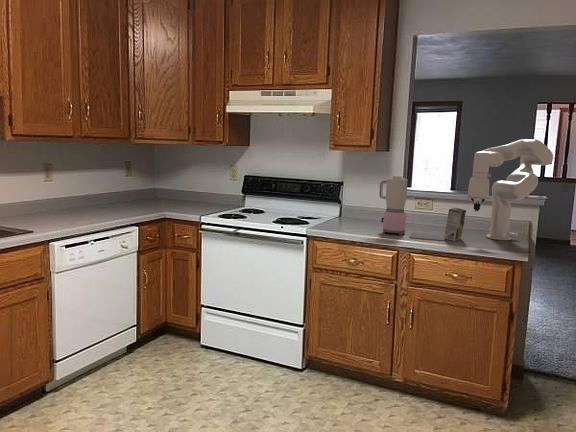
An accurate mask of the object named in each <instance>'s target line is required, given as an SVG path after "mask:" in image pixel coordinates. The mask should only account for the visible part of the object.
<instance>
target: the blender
mask: <svg viewBox="0 0 576 432" xmlns="http://www.w3.org/2000/svg"><path fill="white" fill-rule="evenodd" d="M408 181H409V179H407V178H404V177H403V176H402V175H392V177H388V178H386V180H382V181H381V182H380V183H379V198H380V199H383V200H385V202H386V210H385V211H384V212H383V217H381V220H380V222H381V223H383V224H382V233H383V234H386V233H389V234H390V233H391V234H398V235H399V236H402V235H404V234H405V233H406V221H407V216H406V213H405V205H406V202H407V196H408V194H407V193H408ZM384 184H386V187H385V195H383V191H384V190H383V189H384V188H383V187H384Z"/></svg>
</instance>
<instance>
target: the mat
mask: <svg viewBox="0 0 576 432" xmlns="http://www.w3.org/2000/svg"><path fill="white" fill-rule="evenodd" d="M444 236H445V234H435V233H422V232H413V231H411V233H410V235H409V239H414V240H415V239H416V240H417V239H418V240H428V241H437V242H438V241H439V242H445V240H446V239H444Z"/></svg>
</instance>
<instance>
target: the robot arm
mask: <svg viewBox="0 0 576 432" xmlns="http://www.w3.org/2000/svg"><path fill="white" fill-rule="evenodd" d="M519 157H520V160H519V161H520V162H519V167H518V168H516V169H515V170H514V171H513V172H511V173H510V174H509V175H508V176H507V177H506V179H505V180H497V181H495V182H494V183H493V184H492V186H491V196H492V198H491V199H492V206H491V214H490V217H491V218H490V226H489V227H490V228H489V233H488V234H486V238H487V239H490V240H497V241H511V240H512V237H515V238H518V236H519V233H518V232H511V231H510V223H511V212H512V204H511V202H510V200H512V201H521V200H523V199H524V198H526V197H527V196H528V195H530V194H531V193H532V192H533V191H534V190H535V189H536V188H537V186H538V184H539V178H538V176H537V175H536V174H535V173H534V168H532V166H533V165H534V166H548V165H551V164H552V162H553V160H554V155H553V152H552V151H551V148H549V147H548V146H547V145H546V144H545V143H544V142H542V141H541V140H539V139H536V138H535V139H533V138H531V139H527V138H524V139H523V138H521V139H519V140H516V141H512V142H510V143H508V144H504V145H499V146H493V147H490V148H486V149H484V150H481V151H476V152H475V153H474V157H473V167H472V176H471V178H469V182H468V189H467V197H466V199H467V200H470V201H472V203H473V210H474V212H479V210H481V204H482V203H483V202H487V201H489V200H490V199H489V198H490V196H489V195H490V178H491V177H492V174H490V173H489V169H490V167H492V168H494V167H496V168H497V167H501V165H503V164H504V162H505V161H511V160H514V159H516V158H519ZM477 199H478V202H477Z"/></svg>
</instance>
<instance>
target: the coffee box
mask: <svg viewBox="0 0 576 432" xmlns="http://www.w3.org/2000/svg"><path fill="white" fill-rule="evenodd" d="M447 212H448V214H447V219H446V225H445V231H444V232H445V233H444V235H445V236H444V239H445V240H448V241H453V242H456V241H459V240H461V239H462V236H463V231H464V224H465V219H466V213H467V210H466V209H463V208H459V207H453V208H448V211H447Z"/></svg>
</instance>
